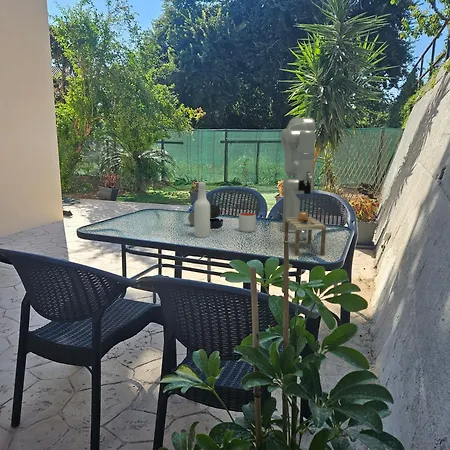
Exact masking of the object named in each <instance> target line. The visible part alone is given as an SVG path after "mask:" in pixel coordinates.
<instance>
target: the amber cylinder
mask: <svg viewBox="0 0 450 450" xmlns="http://www.w3.org/2000/svg"><path fill="white" fill-rule="evenodd" d="M308 217H309V212H308V211H299V212H298V221H302V225H306V223H305V221H308ZM305 241H306V242H307V241H308V230H300V238H299V242H305Z"/></svg>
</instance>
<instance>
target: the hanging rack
mask: <svg viewBox="0 0 450 450" xmlns="http://www.w3.org/2000/svg"><path fill="white" fill-rule="evenodd" d="M289 224H290V225H291V226H293V227H294V228H295V229H296V232H295V238H294V239H295V243H294V256H295V257H299V255H300V241H299V238H300V230H307V241H306V243H307V245H311V244H312V235H313V232H312V231H313V230H315V231H316V230H321V235H320V236H321V239H320V251H319V252H320V256H325V251H326V250H325V249H326V237H327V236H326V235H327V226H326V225H325V224H323V223H321V221H319V220H317V219H316V218H314V217H312V216H308V221H305V225H302V221H298V217H285V232H284V237H283V238H284V239H283V241H284V242H285V241H288V242H289V232H288V225H289ZM284 242H283V243H284Z"/></svg>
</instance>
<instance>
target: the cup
mask: <svg viewBox="0 0 450 450" xmlns="http://www.w3.org/2000/svg"><path fill="white" fill-rule="evenodd" d="M256 226H257V214H256V213H253V212H241V213H239V214H238V230H239V231H240V232H242V233H253V232H255V231H256V229H257V228H256Z"/></svg>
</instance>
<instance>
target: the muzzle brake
mask: <svg viewBox="0 0 450 450" xmlns="http://www.w3.org/2000/svg"><path fill="white" fill-rule="evenodd" d="M221 213H222V212H221V208H220V206H218V204H210V219H211V218H215V219H217V218H218V217H219V216H221ZM187 218H188V222H189V224H191V225H192V226H194V209H193V210H191V211H190V212H189V214H188V215H187Z"/></svg>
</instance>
